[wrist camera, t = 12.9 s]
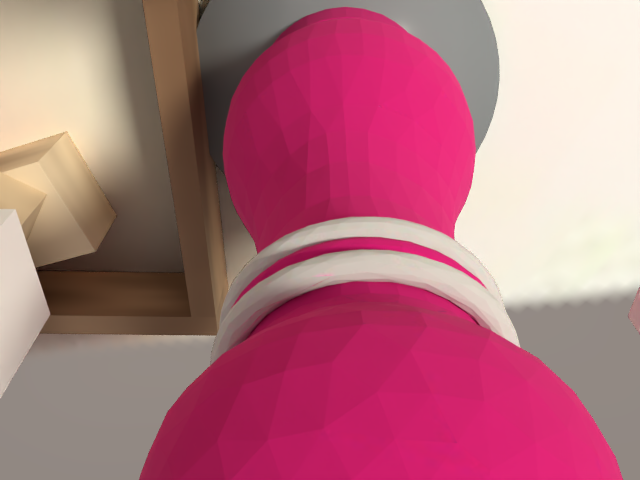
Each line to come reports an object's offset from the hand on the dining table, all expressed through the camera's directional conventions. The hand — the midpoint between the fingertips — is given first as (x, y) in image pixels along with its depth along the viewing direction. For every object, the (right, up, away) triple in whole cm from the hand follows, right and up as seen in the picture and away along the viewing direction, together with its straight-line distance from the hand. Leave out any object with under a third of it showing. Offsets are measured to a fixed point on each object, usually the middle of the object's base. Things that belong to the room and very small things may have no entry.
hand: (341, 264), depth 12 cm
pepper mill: (0, +6, +9) cm, 10 cm away
